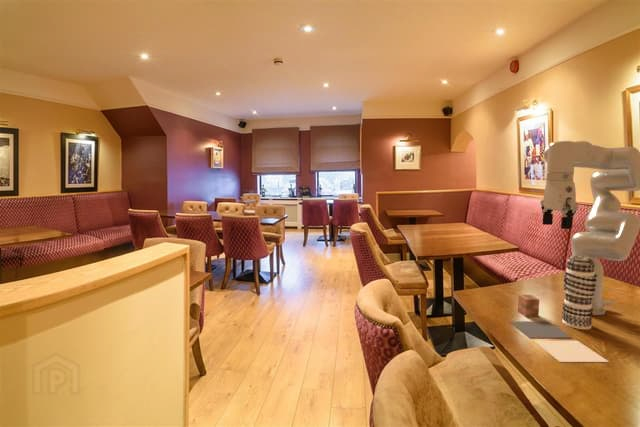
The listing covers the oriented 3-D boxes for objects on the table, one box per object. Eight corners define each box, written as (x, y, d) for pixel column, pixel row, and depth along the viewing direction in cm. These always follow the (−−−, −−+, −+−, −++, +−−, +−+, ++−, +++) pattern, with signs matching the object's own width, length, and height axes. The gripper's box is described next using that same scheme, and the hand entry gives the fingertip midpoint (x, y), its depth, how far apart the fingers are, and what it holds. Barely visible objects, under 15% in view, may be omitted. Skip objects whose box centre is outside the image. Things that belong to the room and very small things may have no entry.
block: (530, 311, 127) (531, 294, 126) (538, 316, 122) (539, 299, 121) (517, 311, 127) (518, 294, 126) (525, 316, 122) (526, 299, 121)
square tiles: (547, 321, 118) (547, 321, 118) (609, 362, 92) (609, 361, 92) (509, 322, 118) (509, 321, 118) (559, 362, 92) (559, 361, 92)
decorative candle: (595, 332, 109) (601, 262, 106) (562, 326, 114) (566, 258, 111) (590, 322, 117) (595, 256, 114) (559, 316, 122) (563, 253, 119)
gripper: (590, 177, 100) (586, 230, 102) (554, 177, 118) (551, 223, 119) (566, 177, 101) (562, 230, 103) (533, 178, 118) (530, 223, 120)
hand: (556, 226), depth 111 cm, fingers open, 9 cm apart
